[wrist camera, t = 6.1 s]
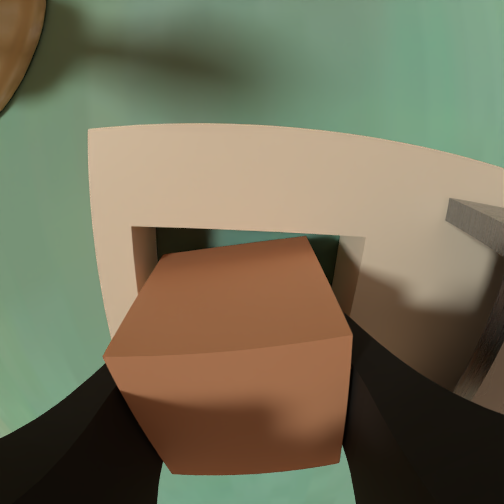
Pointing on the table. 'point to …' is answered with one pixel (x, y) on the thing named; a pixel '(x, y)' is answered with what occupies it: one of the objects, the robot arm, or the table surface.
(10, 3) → the hand bell
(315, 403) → the block
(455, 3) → the table surface
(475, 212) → the cover
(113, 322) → the board
